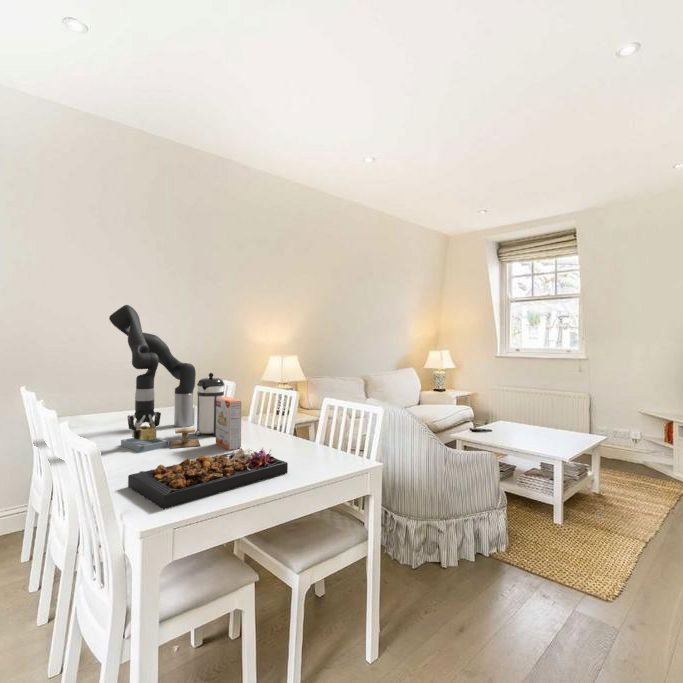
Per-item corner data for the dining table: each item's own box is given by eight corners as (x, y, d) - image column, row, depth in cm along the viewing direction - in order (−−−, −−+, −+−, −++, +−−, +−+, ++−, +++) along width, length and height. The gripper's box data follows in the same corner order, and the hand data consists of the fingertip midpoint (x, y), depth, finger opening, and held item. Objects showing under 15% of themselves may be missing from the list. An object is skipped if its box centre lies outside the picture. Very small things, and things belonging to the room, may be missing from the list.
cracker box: (214, 444, 190) (215, 397, 190) (227, 442, 194) (228, 396, 193) (228, 450, 179) (228, 401, 179) (241, 448, 183) (242, 400, 183)
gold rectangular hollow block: (132, 436, 184) (132, 427, 184) (145, 434, 189) (145, 425, 189) (144, 440, 178) (144, 431, 178) (158, 438, 183) (158, 428, 183)
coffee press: (232, 435, 207) (233, 373, 207) (199, 439, 198) (200, 374, 198) (220, 428, 222) (221, 370, 221) (189, 431, 213) (190, 371, 212)
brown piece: (197, 439, 196) (198, 425, 196) (200, 446, 185) (200, 431, 185) (169, 442, 192) (170, 427, 192) (170, 448, 181) (170, 433, 181)
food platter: (246, 460, 168) (247, 434, 168) (287, 474, 152) (288, 446, 152) (128, 488, 135) (128, 456, 135) (163, 511, 118) (164, 474, 118)
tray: (120, 445, 184) (120, 439, 184) (147, 440, 194) (147, 435, 194) (141, 452, 174) (141, 446, 174) (168, 446, 184) (168, 441, 184)
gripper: (132, 401, 176) (132, 442, 176) (165, 398, 187) (164, 436, 187) (123, 399, 180) (123, 439, 180) (156, 396, 192) (155, 433, 192)
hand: (144, 437), depth 184 cm, fingers closed on gold rectangular hollow block, 6 cm apart
